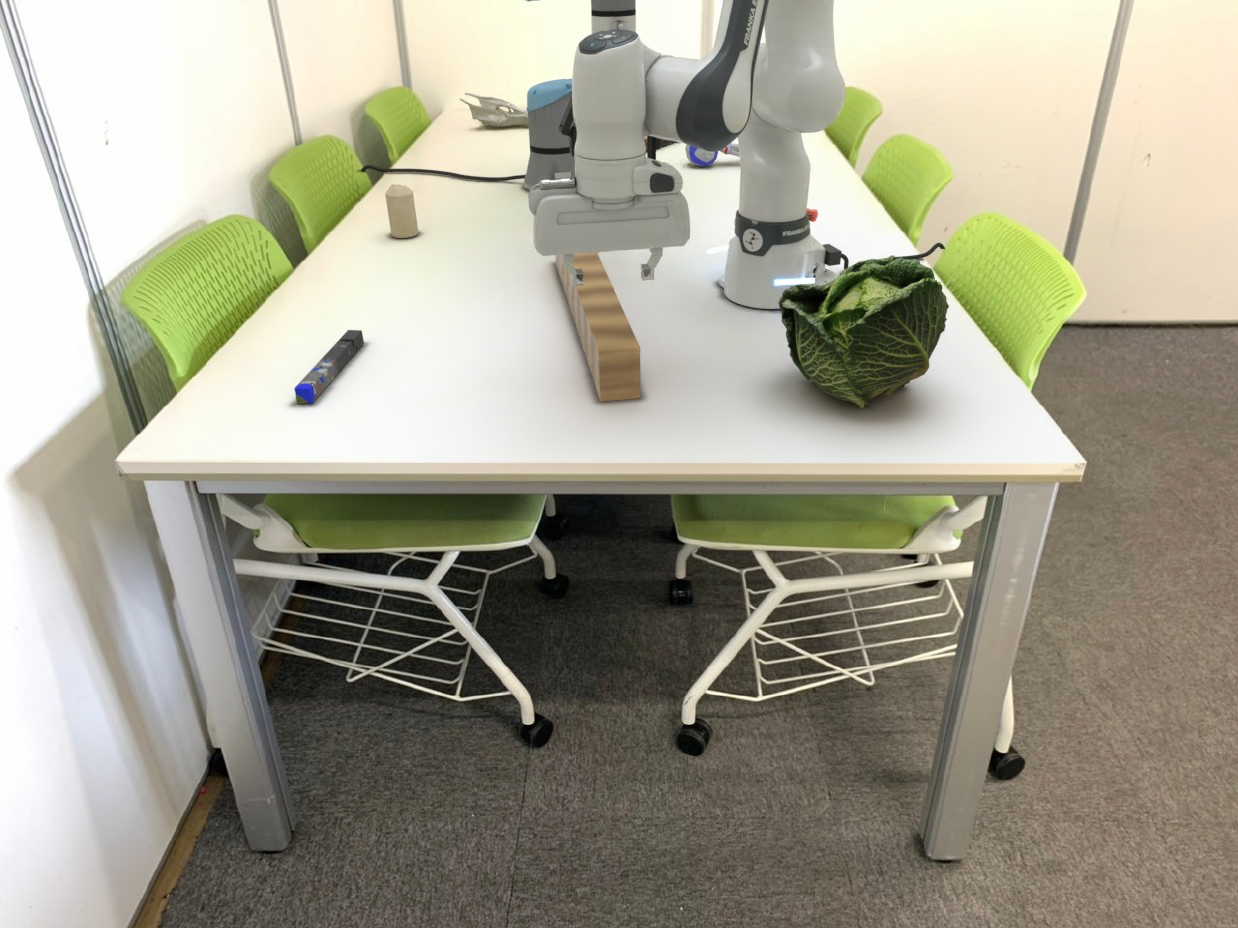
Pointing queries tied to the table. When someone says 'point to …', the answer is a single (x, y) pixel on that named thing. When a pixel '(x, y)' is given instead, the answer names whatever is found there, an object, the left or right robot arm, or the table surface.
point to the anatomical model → (496, 112)
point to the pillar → (328, 367)
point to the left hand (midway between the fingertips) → (616, 171)
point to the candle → (401, 211)
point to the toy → (709, 154)
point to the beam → (602, 329)
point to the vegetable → (865, 327)
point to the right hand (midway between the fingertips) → (612, 281)
